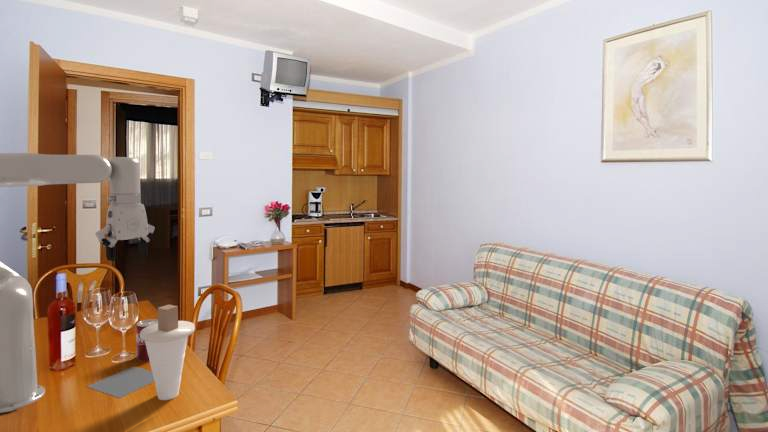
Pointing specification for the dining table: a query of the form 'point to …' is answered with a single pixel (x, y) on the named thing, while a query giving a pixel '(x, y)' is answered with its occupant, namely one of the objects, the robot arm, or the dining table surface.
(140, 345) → the soda can
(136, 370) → the mat
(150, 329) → the lid
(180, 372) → the cup
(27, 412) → the dining table surface
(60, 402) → the dining table surface
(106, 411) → the dining table surface
